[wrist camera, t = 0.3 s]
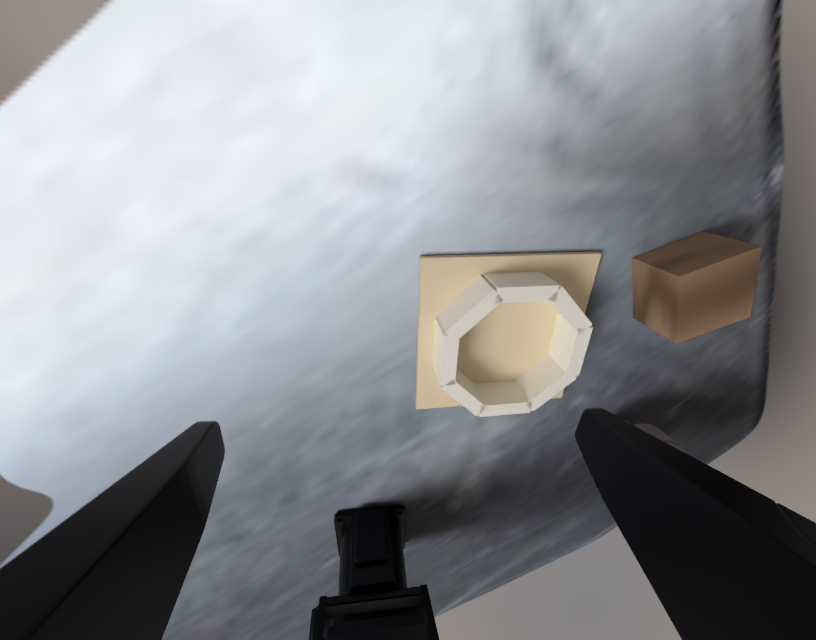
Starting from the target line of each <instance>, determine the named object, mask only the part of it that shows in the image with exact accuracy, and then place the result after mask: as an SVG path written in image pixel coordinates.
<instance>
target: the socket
mask: <svg viewBox="0 0 816 640" xmlns="http://www.w3.org/2000/svg"><path fill="white" fill-rule="evenodd" d="M600 258H601V253H599V252H597V251H596V252H556V253H516V254H477V255H437V256H420V262H419V296H418V330H417V364H416V398H415V406H416V409H428V408H440V407H452V406H464V407H465V408H467V409H468V410H469V411H470V412H472V413H473V414H474V415H475V416H477V415H479V417H485V416H496V415H508V414H520V413H530V411H531V410H532V411H534V410H536V409H537V408H538V407H540V406H541V405H542V404H544V403H545V402H546V401H548V400H549V399H551V398H562V394H563V391H564V388H565V387H566V386H568V385H569V384H570V383H572V382H573V381H574V380H576V379H577V378H576V377H575V376H579V374H580V370H581V367H582V363H583V360H584V357H585V353H586V350H587V347H588V343H589V340H590V336H591V333H592V330H593V327H592V326H591V325H593V324H592V323H591V322H590V320H589V319H588V318H587V317H586V315H585V312H586V308H587V304H588V301H589V297H590V294H591V290H592V286H593V283H594V279H595V276H596V272H597V268H598V265H599V261H600Z"/></svg>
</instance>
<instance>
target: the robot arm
mask: <svg viewBox="0 0 816 640" xmlns="http://www.w3.org/2000/svg"><path fill="white" fill-rule="evenodd" d="M575 438H576V442H577V444H578V446H579V448H580V451H581V453H582V455H583V457H584V459H585V462H586V464H587V466H588V468H589V470H590V473H591V475H592V477H593V479H594V481H595V484H596V486H597V488H598V490H599V492H600V494H601V496H602V498H603V500H604V502H605V504H606V506H607V508H608V509H609V511H610V513H611V515H612V516H613V518H614V520H615V522H616V523H617V525H618V527H619V529H620V531H621V532H622V534H623V536H624V537H625V539H626V541H627V543H628V544H629V546H630V548H631V550H632V552H633V554H634V555H635V557H636V559H637V561H638V562H639V564H640V566H641V568H642V570H643V571H644V573H645V575H646V576H647V578H648V580H649V582H650V583H651V585H652V587H653V589H654V591H655V593H656V594H657V596H658V598H659V600H660V601H661V603H662V605H663V607H664V608H665V610H666V612H667V614H668V616H669V617H670V619H671V621H672V622H673V624H674V626H675V628H676V629H677V631H678V633H679V635H680V637H681V639H682V640H816V523H815V522H813V521H811V520H809V519H807V518H805V517H803V516H801V515H800V514H797V513H796V512H794V511H792V510H790V509H788V508H787V507H785V506H783V505H781V504H778V503H777V504H776V503H775V502H774V501H773V500H772V499H770V498H768V497H766V496H764V495H762V494H760V493H758V492H757V491H755V490H753V489H751V488H749V487H747V486H746V485H744V484H742V483H740V482H738V481H736V480H734V479H732V478H731V477H729V476H727V475H725V474H723V473H721V472H720V471H718V470H716V469H714V468H712V467H710V466H708V465H707V464H705V463H703V462H701V461H699V460H697V459H695V458H694V457H692V456H690V455H688V454H686V453H684V452H682V451H681V450H679V449H677V448H675V447H673V446H671V445H669V444H668V443H666V442H664V441H662V440H660V439H658V438H656V437H654V436H653V435H651V434H649V433H647V432H645V431H643V430H641V429H640V428H638V427H636V426H634V425H632V424H630V423H628V422H627V421H625V420H623V419H621V418H619V417H617V416H615V415H614V414H612V413H610V412H608V411H606V410H604V409H602V408H587V409H585V410H584V411H583V413H582V415H581V418H580V420H579V423H578V425H577V428H576V431H575ZM224 453H225V448H224V443H223V438H222V434H221V429H220V425H219V423H218V422H216V421H200V422H196V423H195V424H193V425H192V426H190V427H189V428H188V429H186V430H185V431H184V432H182V433H181V434H180V435H178V436H177V437H176V438H174V439H173V440H172V441H170V442H169V443H168V444H166V445H165V446H164V447H162V448H161V449H160V450H158V451H157V452H156V453H154V454H153V455H152V456H150V457H149V458H148V459H146V460H145V461H143V462H142V463H141V464H139V465H138V466H137V467H135V468H134V469H133V470H131V471H130V472H129V473H127V474H126V475H125V476H123V477H122V478H121V479H119V480H118V481H117V482H115V483H114V484H113V485H111V486H110V487H109V488H107V489H106V490H105V491H103V492H102V493H101V494H99V495H98V496H97V497H95V498H94V499H93V500H91V501H90V502H88V503H87V504H86V505H84V506H83V507H82V508H80V509H79V510H78V511H76V512H75V513H74V514H72V515H71V516H70V517H68V518H67V519H66V520H64V521H63V522H62V523H60V524H59V525H58V526H56V527H55V528H54V529H52V530H51V531H50V532H48V533H47V534H46V535H44V536H43V537H42V538H40V539H39V540H38V541H36V542H35V543H34V544H32V545H31V546H29V547H28V548H27V549H25V550H24V551H23V552H21V553H20V554H19V555H17V556H16V557H15V558H13V559H12V560H11V561H9V562H8V563H7V564H5V565H4V566H3V567H1V568H0V640H161V639H162V637H163V634H164V631H165V629H166V626H167V624H168V621H169V619H170V616H171V613H172V611H173V608H174V606H175V603H176V601H177V598H178V595H179V593H180V590H181V588H182V585H183V583H184V580H185V578H186V575H187V572H188V570H189V567H190V565H191V562H192V560H193V557H194V554H195V552H196V549H197V547H198V544H199V542H200V539H201V536H202V533H203V531H204V528H205V525H206V521H207V518H208V514H209V511H210V507H211V503H212V500H213V496H214V492H215V489H216V485H217V481H218V478H219V474H220V470H221V467H222V463H223V459H224ZM334 523H335V530H336V537H337V545H338V552H339V557H340V572H339V596H333V597H327V596H321V597H320V600H319V605H318V606H317V607H316V608H314V609H313V610H312V616H311V626H310V634H309V640H439V637H438V632H437V628H436V624H435V619H434V615H433V610H432V606H431V601H430V597H429V593H428V588H427V585H420V587H411V588H407V581H406V572H405V563H404V554H403V549H404V548H405V507H404V506H402V505H399V506H390V507H381V508H373V509H364V510H355V511H347V512H339V513H336V514H335V516H334Z"/></svg>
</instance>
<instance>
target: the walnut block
mask: <svg viewBox="0 0 816 640" xmlns="http://www.w3.org/2000/svg"><path fill="white" fill-rule="evenodd" d="M761 251H762V246H760V245H756V244H752V243H748V242H744V241H740V240H736V239H732V238H728V237H724V236H720V235H716V234H712V233H708V232H704V231H702V232H699V233H697V234H694V235H691V236H689V237H686V238H683V239H681V240H678V241H675V242H673V243H670V244H667V245H665V246H662V247H659V248H657V249H654V250H651V251H649V252H646V253H643V254H641V255H638V256H635V257H632V280H633V318H635V319H636V320H638V321H640V322H641V323H643V324H644V325H646V326H648V327H649V328H651V329H652V330H654V331H656V332H657V333H659V334H661V335H662V336H664V337H665V338H667V339H669V340H670V341H672V342H673V343H675V344H677V343H679V342H682V341H685V340H688V339H691V338H693V337H696V336H699V335H702V334H704V333H707V332H710V331H713V330H716V329H718V328H721V327H724V326H727V325H729V324H732V323H735V322H738V321H740V320H743V319H746V318H749V317H750V315H751V309H752V303H753V297H754V292H755V286H756V280H757V274H758V268H759V263H760V257H761Z"/></svg>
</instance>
